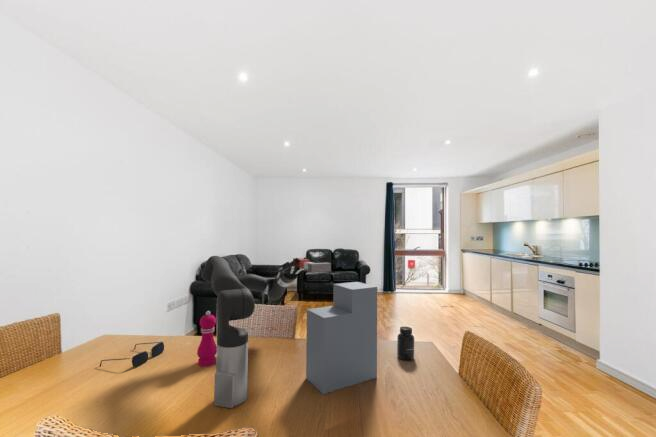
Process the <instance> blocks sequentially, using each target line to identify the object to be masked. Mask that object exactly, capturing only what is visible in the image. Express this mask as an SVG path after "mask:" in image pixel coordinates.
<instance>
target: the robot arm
mask: <svg viewBox="0 0 656 437" xmlns="http://www.w3.org/2000/svg"><path fill="white" fill-rule="evenodd" d="M294 258H295V259H294V260H293V259H292V260H291V261H286V262H285V263H283V264H281V265H279V266H278V274H277V275H276V276H275V277H265V276H261V275H257V274H255V273H246V274H242V275H238V276H236V274H235V273H234V272H233V271H232V269H231V267H230V263H229V262H228V261H227V259H225V258H223V257H221V256H220V255H219V256H218V255H212V256H210V257H208V259H207V260H206V262H205V265H204V267H203V269H202V271H201V272H200V277H201V279H202V280H203V281H205V282H207V283H210V285H211V288H212V291H213V292H214V294H215V295H216V296H217V297H216V346H217V353H216V362H215V363H216V364H215V366H216V369H215V371H216V372H214V385H213V386H214V389H213V390H214V392H213V395H214V396H213V406H217V407H221V408H226V409H228V408H229V409H233V408H234V407H237V406H239V405H241V404H243V403H244V402H245V401H247V398H248V368H249V366H248V365H249V364H248V361H249V360H248V358H249V356H248V355H249V354H248V353H249V333H248V331H247V330H246V329H244V328H241V327H236V326H233V325H231V324H230V322H233V321H237V320H238V321H239V320H240V321H241V320H244V319H248V318H250V317H251V316H252V315H253V314H254V312H255V308H256V307H255V306H256V302H255V298H254V295H253V293H252V292H251V291H255V292H259V293H263V292H265V291H266V289H267V297H268V298H269V299H270V300H271V301H277V300H280V299H281V298H282V297H283V296H284V294H285V292H286V289H287V288H288V287H289V286H290V285H292V284H293V282H294V281H296V280H297V278H298V276H299V274H300V273H301V272H302V271H304V272H308V269H304V268H299V267H295V266H296V265H297V264H298V262H299V261H298V258H299V257H294ZM302 259H307V260H308V258H307V257H306V256H305V257H302ZM267 287H268V288H267Z"/></svg>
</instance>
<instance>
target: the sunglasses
mask: <svg viewBox="0 0 656 437" xmlns="http://www.w3.org/2000/svg"><path fill="white" fill-rule="evenodd" d="M148 344H149V345H150V344H155V345H153V346H152V348H151V349H150V351H146V350H145V351H142V352H139V353H137V354H135V355H133V356H132V357H130V358H128V357H127V358H111V359H101V360H100V364H99V367H102V363H103V362H106V361H107V362H108V361H109V362H110V361H120V360H121V361H123V360H130V359H131V364H132V366H133V367H134V368H139V367H141V366H143V365H144V364H146V363H147V362H148V360H149V356H150V357H152V358H156V357H158V356H160V355H161V354H163V352H164V351H165V343H164V342H163V341H158V342H155V341H154V342H143V343H142V342H141V343H135V344H134V349H133V350H136V347H137V346H139V345H148Z"/></svg>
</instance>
